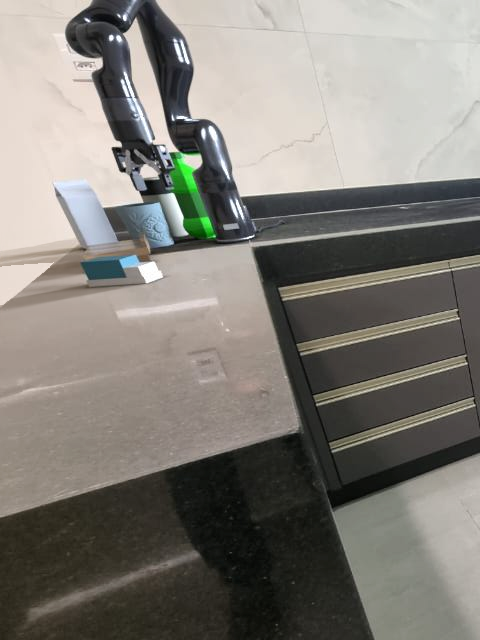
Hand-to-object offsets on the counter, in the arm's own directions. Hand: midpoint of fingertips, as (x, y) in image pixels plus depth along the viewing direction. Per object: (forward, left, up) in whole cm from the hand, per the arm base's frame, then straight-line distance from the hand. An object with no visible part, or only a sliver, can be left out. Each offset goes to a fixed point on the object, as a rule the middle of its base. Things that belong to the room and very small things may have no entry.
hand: (155, 190), depth 133 cm
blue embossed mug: (-16, -24, -17) cm, 34 cm away
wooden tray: (+3, -14, -17) cm, 22 cm away
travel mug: (-30, -31, -17) cm, 46 cm away
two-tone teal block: (+23, +8, -17) cm, 30 cm away
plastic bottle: (-27, -17, -17) cm, 36 cm away
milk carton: (-17, -43, -17) cm, 49 cm away
